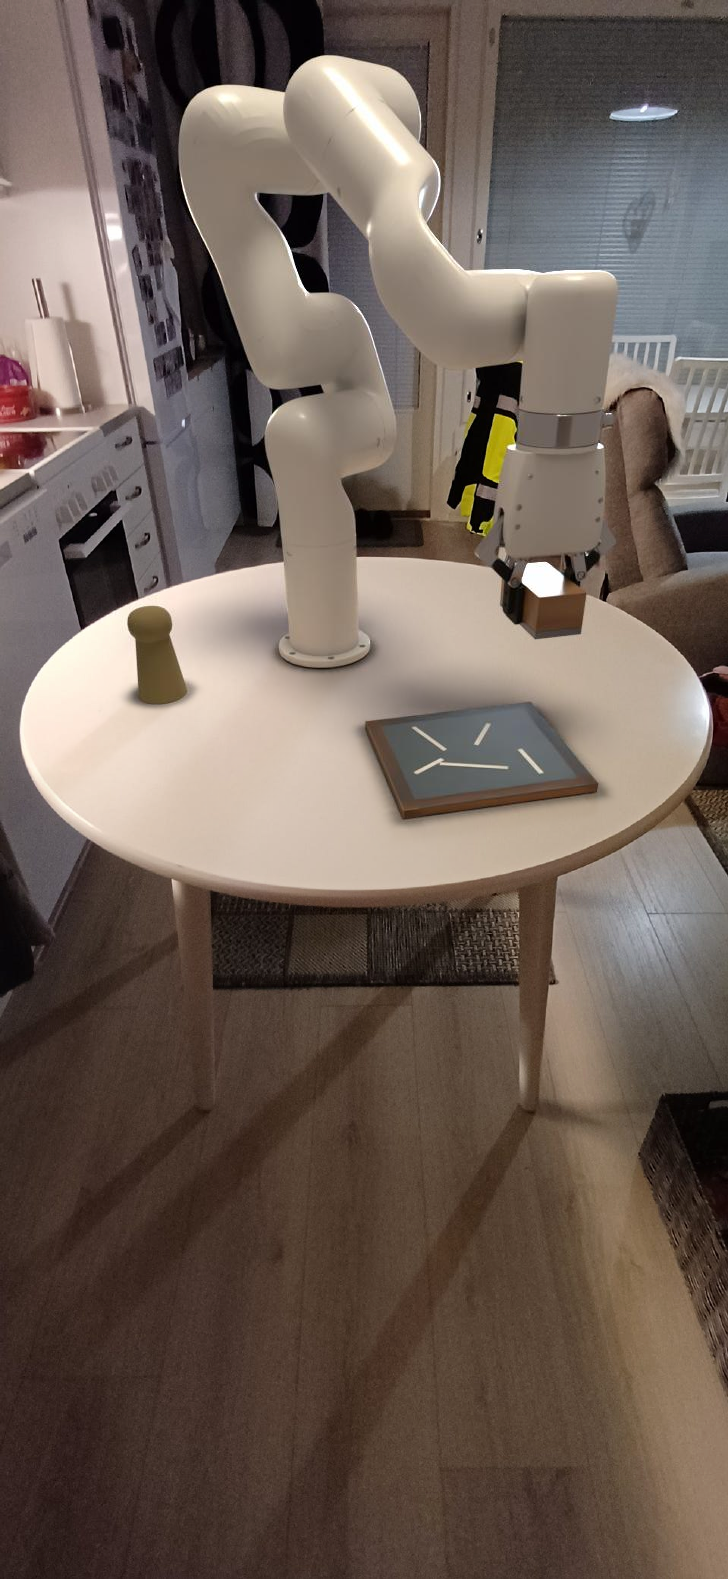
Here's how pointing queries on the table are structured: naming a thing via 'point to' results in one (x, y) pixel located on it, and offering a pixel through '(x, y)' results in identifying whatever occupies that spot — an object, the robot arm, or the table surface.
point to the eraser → (550, 602)
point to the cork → (155, 656)
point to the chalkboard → (475, 759)
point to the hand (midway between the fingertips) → (538, 615)
